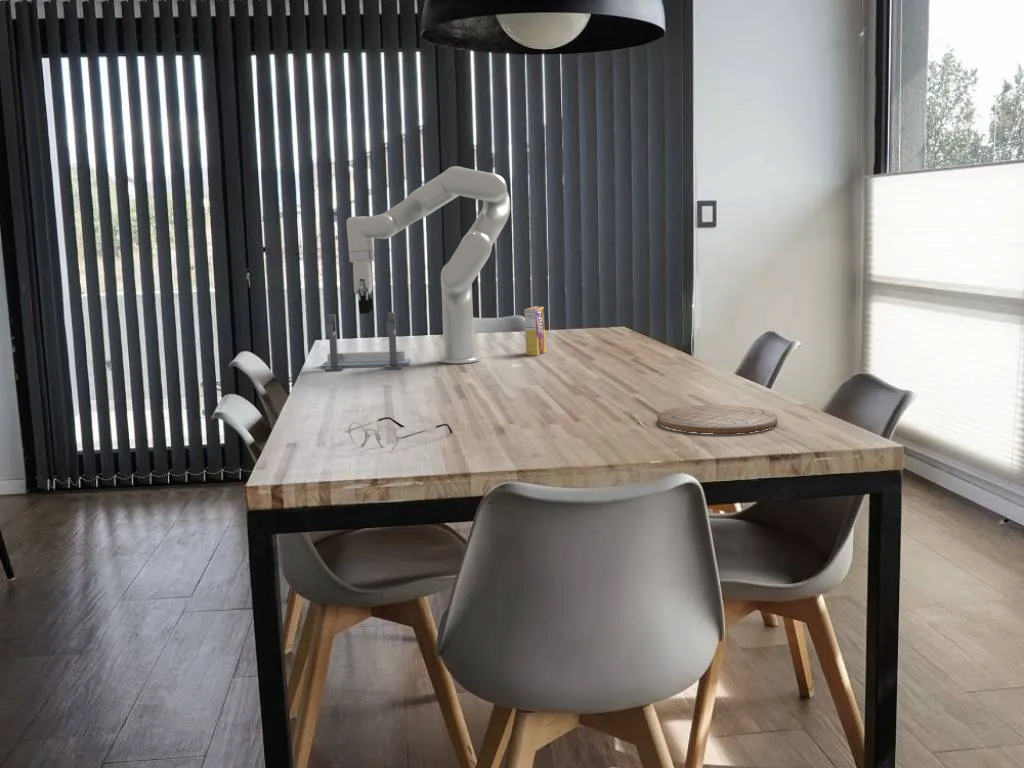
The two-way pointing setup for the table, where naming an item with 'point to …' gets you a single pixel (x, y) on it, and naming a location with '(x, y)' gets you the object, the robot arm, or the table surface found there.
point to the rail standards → (334, 352)
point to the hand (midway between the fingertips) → (366, 312)
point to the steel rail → (367, 357)
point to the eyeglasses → (389, 427)
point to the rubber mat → (367, 364)
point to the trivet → (717, 419)
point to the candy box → (535, 331)
